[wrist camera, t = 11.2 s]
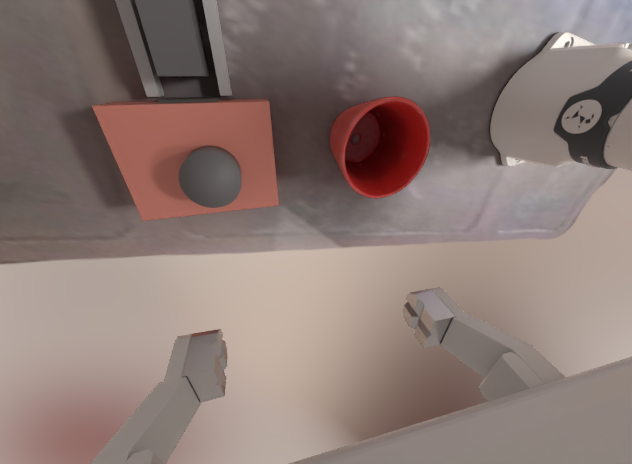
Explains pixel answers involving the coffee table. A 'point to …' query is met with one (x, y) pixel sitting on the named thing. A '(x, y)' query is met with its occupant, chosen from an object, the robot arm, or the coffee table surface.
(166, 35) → the tall grey rectangular block
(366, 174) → the flower pot
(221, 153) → the pink block with rods
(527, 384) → the robot arm
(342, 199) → the coffee table surface
